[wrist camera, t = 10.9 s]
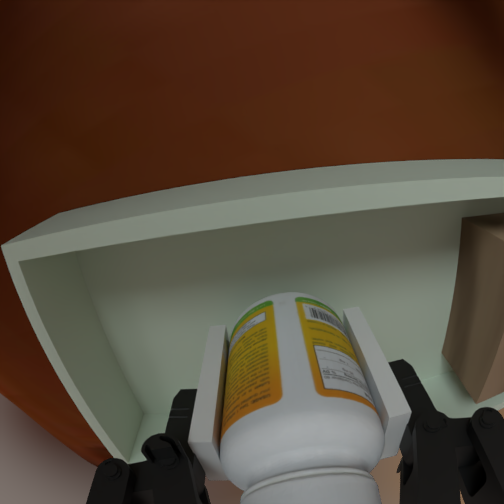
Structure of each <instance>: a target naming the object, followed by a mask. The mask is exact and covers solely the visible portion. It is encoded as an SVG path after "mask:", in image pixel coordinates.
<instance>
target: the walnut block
mask: <svg viewBox="0 0 504 504" xmlns="http://www.w3.org/2000/svg"><path fill="white" fill-rule="evenodd" d="M441 353H442V354H443V356H444V357H445V359H446V360H447V361H448V363H449V364H450V366H451V367H452V369H453V370H454V372H455V373H456V375H457V376H458V378H459V379H460V381H461V382H462V384H463V385H464V387H465V388H466V390H467V391H468V393H469V394H470V396H471V397H472V399H473V401H474V402H475V404H478V403H480V402H483V401H485V400H487V399H489V398H492V397H494V396H496V395H498V394H500V393H502V392H504V213H496V214H488V215H479V216H471V217H462V221H461V235H460V247H459V256H458V265H457V273H456V280H455V287H454V293H453V299H452V305H451V311H450V316H449V321H448V326H447V331H446V335H445V340H444V344H443V348H442V352H441Z"/></svg>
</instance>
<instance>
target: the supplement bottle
mask: <svg viewBox="0 0 504 504" xmlns="http://www.w3.org/2000/svg"><path fill="white" fill-rule="evenodd" d="M384 446H385V435H384V431H383V427H382V424H381V420H380V417H379V415H378V412H377V409H376V407H375V404H374V402H373V399H372V396H371V394H370V391H369V388H368V386H367V383H366V381H365V378H364V375H363V373H362V370H361V368H360V365H359V363H358V360H357V357H356V355H355V353H354V350H353V348H352V345H351V343H350V340H349V338H348V335H347V333H346V331H345V328H344V326H343V324H342V322H341V320H340V318H339V316H338V315H337V313H336V312H335V311H334V309H333V308H332V307H331V306H330V305H328V304H327V303H326V302H324V301H323V300H321V299H319V298H317V297H315V296H312V295H309V294H305V293H299V292H285V293H278V294H274V295H271V296H268V297H265V298H263V299H261V300H259V301H257V302H255V303H254V304H252V305H251V306H250V307H248V308H247V309H246V310H245V311H244V312H243V313H242V314H241V315H240V316H239V318H238V319H237V321H236V323H235V325H234V327H233V330H232V333H231V338H230V344H229V355H228V366H227V376H226V386H225V397H224V408H223V418H222V429H221V440H220V461H221V466H222V469H223V471H224V473H225V475H226V476H227V478H228V479H229V480H230V481H231V482H232V483H233V484H235V485H236V486H237V487H238V488H240V489H241V490H243V491H245V492H244V493H243V494H242V496H241V499H240V501H241V502H240V504H382V503H381V499H380V495H379V489H378V485H377V483H376V482H375V480H374V478H373V476H372V475H371V474H369V473H370V472H371V471H372V470H373V469H374V467H375V466H376V465H377V464H378V462H379V460H380V458H381V456H382V454H383V451H384Z"/></svg>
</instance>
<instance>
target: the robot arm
mask: <svg viewBox="0 0 504 504" xmlns="http://www.w3.org/2000/svg"><path fill="white" fill-rule="evenodd" d="M343 326H344V328H345V331H346V333H347V335H348V338H349V340H350V343H351V345H352V348H353V350H354V353H355V355H356V357H357V360H358V363H359V365H360V368H361V370H362V373H363V375H364V378H365V381H366V383H367V386H368V388H369V391H370V394H371V396H372V399H373V402H374V404H375V407H376V409H377V412H378V415H379V417H380V420H381V424H382V427H383V431H384V435H385V446H384V451H383V454H382V456H381V458H380V459H384V458H388V457H392V456H395V455H397V453H398V450H399V448H400V450H401V453H402V456H403V457H402V459H401V461H400V464H399V466H398V469H397V473H399V472H400V504H461V501H460V491H461V494H462V497H463V500H464V502H465V504H504V419H503V417H502V415H501V414H500V413H499V412H498V411H497V410H496V409H494V408H491V407H482V408H479V409H478V410H476V411H475V412H474V414H473V415H472V417H467V418H449V417H447V416H446V415H445V414H444V413H442V412H439V411H437V410H436V408H435V406H434V405H433V403H432V401H431V399H430V397H429V395H428V393H427V392H426V390H425V388H424V386H423V384H422V383H421V381H420V379H419V377H418V376H417V374H416V372H415V370H414V368H413V367H412V365H410V364H409V363H408V362H406V361H405V360H404V359H401V360H396V361H392V362H387V360H386V358H385V356H384V354H383V352H382V350H381V348H380V346H379V344H378V342H377V340H376V338H375V336H374V334H373V332H372V331H371V329H370V327H369V325H368V323H367V321H366V319H365V317H364V316H363V314H362V312H361V310H360V308H359V307H353V308H347V309H343ZM229 344H230V341H229V336H228V332H227V328H226V325H217V326H210V328H209V332H208V337H207V342H206V348H205V353H204V358H203V363H202V368H201V373H200V378H199V384H198V389H180V391H179V392H178V393H177V394H176V396H175V397H174V398H173V402H172V406H171V410H170V414H169V418H168V422H167V426H166V430H165V433H158V434H155V435H152V436H151V437H149V438H148V439H146V440H145V442H144V443H143V445H142V448H141V452H142V454H143V455H144V456H145V458H146V459H147V460H146V461H142V462H137V463H132V464H127V463H126V462H125V461H123V460H122V459H119V458H110V459H107V460H105V461H103V462H102V463H101V464H100V465H99V466H98V468H97V470H96V473H95V476H94V479H93V482H92V486H91V489H90V492H89V496H88V499H87V502H86V504H211V503H210V499H209V495H208V491H207V489H206V487H205V485H204V483H205V475H206V477H207V478H208V480H229V479H228V478H227V476H226V475H225V473H224V471H223V469H222V466H221V461H220V440H221V429H222V418H223V408H224V397H225V386H226V376H227V366H228V355H229Z"/></svg>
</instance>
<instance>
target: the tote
mask: <svg viewBox="0 0 504 504" xmlns="http://www.w3.org/2000/svg"><path fill="white" fill-rule="evenodd" d="M496 213H504V159H449V160H417V161H396V162H380V163H365V164H352V165H341V166H330V167H319V168H310V169H301V170H292V171H283V172H275V173H267V174H260V175H252V176H245V177H238V178H232V179H225V180H219V181H212V182H206V183H200V184H194V185H188V186H183V187H177V188H172V189H166V190H161V191H156V192H151V193H145V194H140V195H136V196H131V197H126V198H121V199H117V200H112V201H108V202H103V203H99V204H94V205H90V206H86V207H82V208H78V209H73V210H69V211H65V212H61V213H58V214H56V215H54V216H53V217H51V218H49V219H47V220H45V221H43V222H41V223H40V224H38V225H36V226H34V227H32V228H30V229H29V230H27V231H25V232H23V233H22V234H20V235H18V236H16V237H15V238H13V239H11V240H10V241H8V242H6V243H5V244H3V245H1V248H2V251H3V254H4V257H5V260H6V263H7V266H8V269H9V272H10V274H11V277H12V280H13V282H14V285H15V287H16V290H17V293H18V295H19V297H20V300H21V302H22V305H23V307H24V309H25V312H26V314H27V316H28V318H29V320H30V323H31V325H32V327H33V329H34V331H35V333H36V335H37V337H38V339H39V341H40V343H41V345H42V347H43V349H44V351H45V353H46V355H47V357H48V359H49V361H50V362H51V364H52V366H53V368H54V370H55V371H56V373H57V375H58V377H59V378H60V380H61V382H62V383H63V385H64V387H65V388H66V390H67V392H68V393H69V395H70V396H71V398H72V400H73V401H74V403H75V404H76V406H77V407H78V409H79V410H80V412H81V413H82V415H83V416H84V418H85V419H86V421H87V422H88V424H89V425H90V427H91V428H92V429H93V431H94V432H95V433H96V435H97V436H98V438H99V439H100V440H101V442H102V443H103V444H104V446H105V447H106V448H107V449H108V451H109V452H110V453H111V455H112V456H113V457H114V458H119V459H122V460H123V461H125V462H126V463H127V464H132V463H137V462H142V461H146V460H147V459H146V458H145V456H144V455H143V454H142V452H141V448H142V445H143V443H144V442H145V440H146V439H148V438H149V437H151V436H152V435H155V434H158V433H165V430H166V426H167V422H168V418H169V414H170V410H171V406H172V402H173V398H174V397H175V396H176V394H177V393H178V392H179V391H180V389H198V384H199V378H200V373H201V368H202V363H203V358H204V353H205V348H206V342H207V337H208V332H209V328H210V326H217V325H226V328H227V332H228V336H229V341H230V338H231V333H232V330H233V327H234V325H235V323H236V321H237V319H238V318H239V316H240V315H241V314H242V313H243V312H244V311H245V310H246V309H247V308H248V307H250V306H251V305H252V304H254V303H255V302H257V301H259V300H261V299H263V298H265V297H268V296H271V295H274V294H278V293H285V292H299V293H305V294H309V295H312V296H315V297H317V298H319V299H321V300H323V301H324V302H326V303H327V304H328V305H330V306H331V307H332V308H333V309H334V311H335V312H336V313H337V315H338V316H339V318H340V320H341V322H342V324H343V309H347V308H353V307H359V308H360V310H361V312H362V314H363V316H364V317H365V319H366V321H367V323H368V325H369V327H370V329H371V331H372V332H373V334H374V336H375V338H376V340H377V342H378V344H379V346H380V348H381V350H382V352H383V354H384V356H385V358H386V360H387V362H392V361H396V360H401V359H404V360H405V361H406V362H408V363H409V364H410V365H412V367H413V368H414V370H415V372H416V374H417V376H418V377H419V379H420V381H421V383H422V384H423V386H424V388H425V390H426V392H427V393H428V395H429V397H430V399H431V401H432V403H433V405H434V406H435V408H436V410H437V411H439V412H442V413H444V414H445V415H446V416H447V417H449V418H467V417H472V415H473V414H474V412H475V411H476V410H478V409H479V408H482V407H491V408H494V409H496V410H497V411H498V410H499V409H502V408H504V392H502V393H500V394H498V395H496V396H494V397H492V398H489V399H487V400H485V401H483V402H480V403H478V404H475V402H474V401H473V399H472V397H471V396H470V394H469V393H468V391H467V390H466V388H465V387H464V385H463V384H462V382H461V381H460V379H459V378H458V376H457V375H456V373H455V372H454V370H453V369H452V367H451V366H450V364H449V363H448V361H447V360H446V359H445V357H444V356H443V354H442V353H441V352H442V348H443V344H444V340H445V335H446V331H447V326H448V321H449V316H450V311H451V305H452V299H453V293H454V287H455V280H456V273H457V265H458V256H459V247H460V235H461V221H462V217H471V216H479V215H488V214H496Z"/></svg>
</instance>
